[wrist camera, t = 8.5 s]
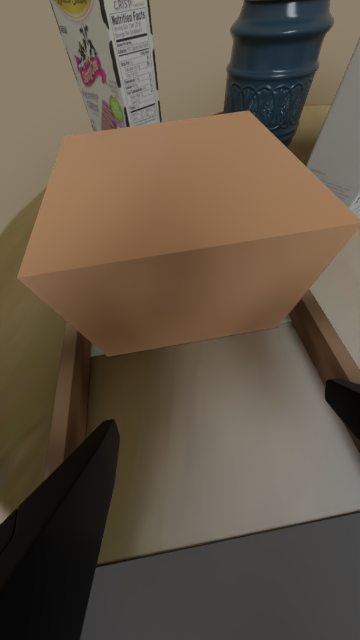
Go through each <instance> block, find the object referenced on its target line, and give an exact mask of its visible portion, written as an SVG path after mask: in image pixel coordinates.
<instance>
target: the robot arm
mask: <svg viewBox="0 0 360 640" xmlns="http://www.w3.org/2000/svg"><path fill="white" fill-rule="evenodd" d="M325 399H326V401H327V403H328V404H329V405H330V406H331V408H332V409H333V410H334V411H335V412H336V414H337V415H338V416H339V417H340V419H341V420H342V421H343V422H344V424H345V425H346V426H347V427H348V428H349V430H350V431H351V432H352V433H353V434H354V436H355V437H356V438H357V439H358V440H359V441H360V384H357V383H353V382H350V381H346V380H343V379H339V378H333V379H328V380H326V382H325ZM119 442H120V437H119V432H118V429H117V425H116V422H115V420H113V419H111V420H105V421H103V422H102V423H101V424H100V425H99V426H98V427H97V428H96V429H95V430H94V431H93V432H92V433H91V434H90V435H89V436H88V437H87V438H86V439H85V440H84V441H83V442H82V443H81V444H80V445H79V446H78V447H77V448H76V449H75V450H74V451H73V452H72V453H71V454H70V455H69V456H68V457H67V458H66V459H65V460H64V461H63V462H62V463H61V464H60V465H59V466H58V467H57V468H56V469H55V470H54V471H53V472H52V473H51V474H50V475H49V476H48V477H47V478H46V479H45V480H44V481H43V482H42V483H41V484H40V485H39V486H38V487H37V488H36V489H35V490H34V491H33V492H32V493H31V494H30V495H29V496H28V497H27V498H26V499H25V500H24V501H23V502H22V503H21V504H20V505H19V507H18V509H16V510H14V511H13V512H12V513H11V514H10V515H9V516H8V517H7V518H6V519H5V520H4V522H2V523H1V524H0V640H80V637H81V633H82V628H83V624H84V619H85V615H86V610H87V606H88V601H89V597H90V592H91V588H92V583H93V578H94V574H95V569H96V565H97V560H98V556H99V551H100V547H101V542H102V538H103V533H104V529H105V524H106V520H107V515H108V511H109V506H110V502H111V497H112V492H113V488H114V482H115V475H116V467H117V459H118V450H119Z"/></svg>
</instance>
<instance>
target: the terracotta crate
mask: <svg viewBox="0 0 360 640" xmlns="http://www.w3.org/2000/svg"><path fill="white" fill-rule="evenodd" d="M359 227H360V219H359V218H358V217H357V216H356V215H355V214H354V213H353V212H352V211H351V210H350V209H349V208H348V207H347V206H346V205H345V204H344V203H343V202H342V201H341V200H340V199H339V198H338V197H337V196H336V195H335V194H334V193H333V192H332V191H331V190H330V189H329V188H327V187H326V186H325V185H324V184H323V183H322V182H321V181H320V180H319V179H318V178H317V177H316V176H315V175H314V174H313V173H312V172H311V171H310V170H309V169H308V168H307V167H306V166H305V165H304V164H303V163H302V162H301V161H300V160H299V159H298V158H297V157H296V156H295V155H294V154H293V153H292V152H291V151H290V150H289V149H288V148H287V147H286V146H285V145H284V144H283V143H282V142H281V141H280V140H278V139H277V138H276V137H275V136H274V135H273V134H272V133H271V132H270V131H269V130H268V129H267V128H266V127H265V126H264V125H263V124H262V123H261V122H260V121H259V120H258V119H257V118H256V117H255V116H254V115H253V114H252V113H251V112H250V111H249V110H248V111H241V112H234V113H226V114H219V115H212V116H205V117H197V118H191V119H183V120H176V121H168V122H161V123H154V124H147V125H139V126H132V127H125V128H117V129H110V130H103V131H96V132H89V133H81V134H74V135H67V136H64V138H63V141H62V144H61V147H60V150H59V153H58V156H57V159H56V162H55V165H54V168H53V171H52V174H51V177H50V180H49V183H48V186H47V189H46V192H45V195H44V198H43V201H42V204H41V207H40V210H39V213H38V216H37V219H36V222H35V225H34V228H33V231H32V234H31V237H30V240H29V243H28V246H27V249H26V252H25V255H24V258H23V261H22V264H21V267H20V270H19V273H18V276H17V278H18V279H19V280H20V281H21V282H22V283H23V284H25V285H26V286H27V287H28V288H29V289H30V290H31V291H33V292H34V293H35V294H36V295H37V296H38V297H40V298H41V299H42V300H43V301H44V302H45V303H46V304H48V305H49V306H50V307H51V308H52V309H53V310H54V311H56V312H57V313H58V314H59V315H60V316H61V317H63V318H64V319H65V320H66V321H67V322H68V323H69V324H71V325H72V326H73V327H74V328H75V329H76V330H77V331H79V332H80V333H81V334H82V335H83V336H84V337H86V338H87V339H88V340H89V341H90V342H91V343H92V344H94V345H95V346H96V347H97V348H98V349H99V350H100V351H102V352H103V353H104V354H105V355H106V356H107V357H110V356H116V355H122V354H127V353H133V352H139V351H145V350H150V349H156V348H162V347H167V346H173V345H179V344H185V343H190V342H196V341H202V340H208V339H213V338H219V337H225V336H231V335H236V334H242V333H248V332H253V331H259V330H265V329H271V328H276V327H278V326H279V325H280V324H281V322H282V321H283V320H284V319H285V317H286V316H287V315H288V314H289V313H290V311H291V310H292V309H293V308H294V307H295V305H296V304H297V303H298V302H299V300H300V299H301V298H302V297H303V296H304V294H305V293H306V292H307V291H308V290H309V288H310V287H311V286H312V285H313V283H314V282H315V281H316V280H317V279H318V277H319V276H320V275H321V274H322V272H323V271H324V270H325V269H326V268H327V266H328V265H329V264H330V263H331V262H332V260H333V259H334V258H335V257H336V255H337V254H338V253H339V252H340V251H341V249H342V248H343V247H344V246H345V244H346V243H347V242H348V241H349V240H350V238H351V237H352V236H353V235H354V234H355V232H356V231H357V230H358V229H359Z"/></svg>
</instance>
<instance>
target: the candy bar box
mask: <svg viewBox="0 0 360 640" xmlns="http://www.w3.org/2000/svg"><path fill="white" fill-rule="evenodd" d="M50 3H51V6H52V9H53V12H54V15H55V18H56V21H57V23H58V27H59V30H60V33H61V35H62V38H63V41H64V44H65V47H66V50H67V53H68V56H69V59H70V62H71V65H72V68H73V71H74V74H75V76H76V80H77V83H78V86H79V88H80V92H81V94H82V97H83V100H84V103H85V106H86V109H87V112H88V115H89V118H90V121H91V124H92V127H93V130H94V132H96V131H103V130H110V129H117V128H125V127H132V126H139V125H147V124H154V123H161V122H162V121H161V112H160V101H159V91H158V82H157V72H156V63H155V53H154V44H153V33H152V25H151V15H150V6H149V0H50Z"/></svg>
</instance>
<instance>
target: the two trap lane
mask: <svg viewBox="0 0 360 640" xmlns="http://www.w3.org/2000/svg"><path fill="white" fill-rule="evenodd" d="M288 322H293V324H294V326H295V328H296V330H297V332H298V334H299V336H300V338H301V340H302V342H303V344H304V346H305V348H306V349H307V351H308V353H309V355H310V357H311V359H312V361H313V363H314V365H315V367H316V369H317V371H318V373H319V375H320V377H321V378H322V380H323V382H324V384H325V382H326V380H328V379H333V378H339V379H343V380H346V381H350V382H353V383H357V384H360V369H359V368H358V366H357V365H356V363H355V362H354V360H353V358H352V357H351V355H350V354H349V352H348V350H347V349H346V347H345V346H344V344H343V342H342V341H341V339H340V338H339V336H338V334H337V333H336V331H335V330H334V328H333V326H332V325H331V323H330V322H329V320H328V318H327V317H326V315H325V314H324V312H323V310H322V309H321V307H320V306H319V304H318V302H317V301H316V299H315V298H314V296H313V294H312V293H311V291H310V290H308V291H307V292H306V293H305V294H304V296H303V297H302V298H301V299H300V300H299V302H298V303H297V304H296V305H295V307H294V308H293V309H292V310H291V311H290V313H289V314H288V315H287V316H286V317H285V319H284V320H283V321H282V322H281V324H282V323H288ZM98 355H104V353H103V352H102V351H100V350H99V349H98V348H97V347H96V346H95V345H94V344H92V343H91V342H90V341H89V340H88V339H87V338H86V337H84V336H83V335H82V334H81V333H80V332H79V331H77V330H76V329H75V328H74V327H73V326H72V325H71V324H69V323H68V322H67V321H66V327H65V334H64V341H63V348H62V355H61V362H60V369H59V376H58V382H57V389H56V396H55V403H54V410H53V417H52V424H51V431H50V438H49V445H48V452H47V459H46V466H45V472H44V479H43V481H44V480H45V479H46V478H47V477H48V476H49V475H50V474H51V473H52V472H53V471H54V470H55V469H56V468H57V467H58V466H59V465H60V464H61V463H62V462H63V461H64V460H65V459H66V458H67V457H68V456H69V455H70V454H71V453H72V452H73V451H74V450H75V449H76V448H77V447H78V446H79V445H80V444H81V443H82V442H83V441H84V440H85V436H86V421H87V406H88V391H89V376H90V361H91V357H93V356H98ZM346 427H347V426H346ZM347 429H348V431H349V433H350V435H351V437H352V438H353V440H354V442H355V444H356V446H357V448H358V450H359V452H360V441H359V440H358V439H357V438H356V437H355V436H354V434H353V433H352V432H351V431H350V430H349V428H348V427H347ZM80 640H360V512H358V513H353V514H348V515H343V516H338V517H334V518H329V519H324V520H319V521H314V522H310V523H305V524H300V525H295V526H290V527H286V528H281V529H276V530H271V531H266V532H262V533H257V534H252V535H247V536H243V537H238V538H233V539H228V540H223V541H219V542H214V543H209V544H204V545H199V546H195V547H190V548H185V549H180V550H175V551H171V552H166V553H161V554H156V555H151V556H147V557H142V558H137V559H132V560H128V561H123V562H118V563H113V564H108V565H104V566H99V567H96V569H95V574H94V578H93V583H92V588H91V592H90V597H89V601H88V606H87V610H86V615H85V619H84V624H83V628H82V633H81V637H80Z"/></svg>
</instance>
